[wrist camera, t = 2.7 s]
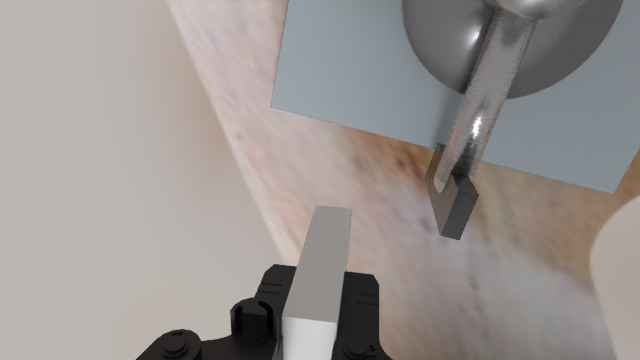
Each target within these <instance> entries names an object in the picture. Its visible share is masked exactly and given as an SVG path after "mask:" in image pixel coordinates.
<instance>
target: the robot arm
mask: <svg viewBox="0 0 640 360" xmlns="http://www.w3.org/2000/svg"><path fill="white" fill-rule="evenodd" d="M351 216H352V209H347V208H337V207H327V206H317V205H316V208H315V211H314V214H313V217H312V221H311V224H310V227H309V230H308V234H307V237H306V240H305V243H304V246H303V250H302V253H301V256H300V259H299V263H298V266H297V267H295V266H286V265H278V264H274V265H273V266H272V267H270V268H269V269H268V270H267V271H266V272H265V274H264V276H263V278H262V281H261V284H260V285H259V287H258V290H257V292H256V295H255V297H254V298H248V299H245V300H242V301H240V302H238V303H237V304H235V305H234V306H233V308H232V309H231V310H230V315H231V332H232V334H231V335H229V336H227V337H224V338H220V339H215V340H207V341H201V340H200V338H199V336H198V335H197V334H196V333H194V332H193V331H191V330H185V329H180V330H173V331H170V332H168V333H165V334H163V335H162V336H161V337H159V338H158V339H156V340H155V341H154V342H153V343H152V344H151V345H150V346H149V347H148V348H147V349H146V350H145V351H144V352H143V353H142V354H141V355H140V356H139V357H138V358H137V359H136V360H393V359H391V358H390V357H389V356H388V355H387V354H386V353H385V352H384V351H383V349H382V347H381V345H380V340H379V284H378V282H377V280H376V279H375V277H374V275H372V274H363V273H355V272H347V263H348V251H349V240H350V228H351Z"/></svg>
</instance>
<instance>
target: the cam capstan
mask: <svg viewBox="0 0 640 360" xmlns="http://www.w3.org/2000/svg"><path fill="white" fill-rule="evenodd" d="M623 1H624V0H401V15H402V21H403V27H404V30H405V34H406V37H407V40H408V42H409V44H410V47H411V49H412V50H413V52H414V54H415V55H416V57H417V58H418V60H419V61H420V62H421V63H422V65H423V66H424V67H425V68H426V69H427V71H428V72H429V73H430V74H431V75H432V76H434V77H435V78H436V79H437V80H438V81H439V82H441V83H442V84H444V85H445V86H447V87H448V88H450V89H452V90H454V91H456V92H458V93H461V94H464V97H463V100H462V103H461V105H460V108H459V111H458V113H457V116H456V119H455V122H454V124H453V127H452V130H451V132H450V135H449V138H448V140H447V143H446V145H445V144H441V143H437V146H436V149H435V151H434V154H433V157H432V160H431V163H430V165H429V168H428V171H427V174H426V176H425V181H426V185H427V188H428V192H429V196H430V199H431V203H432V207H433V210H434V214H435V218H436V221H437V225H438V228H439V232H440V235H441V236H445V237H449V238H452V239H456V240H460V238H461V235H462V233H463V231H464V228H465V226H466V224H467V221H468V219H469V217H470V214H471V212H472V210H473V207H474V205H475V203H476V200H477V198H478V196H479V195H478V193H477V191H476V189H475V187H474V185H473V184H472V179H473V177H474V174H475V172H476V170H477V167H478V165H479V162H480V160H481V157H482V155H483V153H484V150H485V148H486V145H487V143H488V141H489V138H490V136H491V133H492V131H493V128H494V126H495V124H496V121H497V119H498V116H499V114H500V112H501V109H502V107H503V104H504V102H505V99H514V98H519V97H524V96H527V95H530V94H533V93H537V92H539V91H541V90H544V89H546V88H548V87H550V86H552V85H554V84H556V83H557V82H559V81H561V80H563V79H564V78H566V77H567V76H568V75H570V74H571V73H572V72H574V71H575V70H576V69H578V68H579V67H580V66H581V65H582V64H583V63H584V62H585V61H586V60H587V59H588V58H589V57H590V56H591V55H592V54H593V53H594V52H595V50H596V49H597V48H598V47H599V46H600V44H601V43H602V42H603V40H604V39H605V37H606V36H607V35H608V33H609V31H610V29H611V28H612V26H613V24H614V22H615V20H616V18H617V16H618V14H619V11H620V9H621V6H622V4H623Z"/></svg>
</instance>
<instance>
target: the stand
mask: <svg viewBox="0 0 640 360" xmlns="http://www.w3.org/2000/svg"><path fill="white" fill-rule="evenodd" d="M463 97H464V94H461V93H458V92H456V91H454V90H452V89H450V88H448V87H447V86H445V85H444V84H442V83H441V82H439V81H438V80H437V79H436V78H435V77H434V76H432V75H431V74H430V73H429V72H428V71H427V69H426V68H425V67H424V66H423V65H422V63H421V62H420V61H419V60H418V58H417V57H416V55H415V54H414V52H413V50H412V49H411V47H410V44H409V42H408V40H407V37H406V34H405V30H404V27H403V21H402V15H401V0H289V3H288V9H287V14H286V20H285V26H284V32H283V37H282V43H281V49H280V55H279V61H278V66H277V72H276V78H275V84H274V89H273V95H272V101H271V107H272V108H276V109H279V110H283V111H287V112H291V113H295V114H299V115H303V116H307V117H311V118H315V119H319V120H323V121H327V122H331V123H334V124H338V125H342V126H346V127H350V128H354V129H358V130H362V131H366V132H370V133H374V134H378V135H382V136H385V137H389V138H393V139H397V140H401V141H405V142H409V143H413V144H417V145H421V146H425V147H429V148H433V149H436V146H437V143H441V144H445V145H446V143H447V140H448V138H449V135H450V132H451V130H452V127H453V124H454V122H455V119H456V116H457V113H458V111H459V108H460V105H461V103H462V100H463ZM639 148H640V0H624V1H623V4H622V6H621V9H620V11H619V14H618V16H617V18H616V20H615V22H614V24H613V26H612V28H611V29H610V31H609V33H608V35H607V36H606V37H605V39H604V40H603V42H602V43H601V44H600V46H599V47H598V48H597V49H596V50H595V52H594V53H593V54H592V55H591V56H590V57H589V58H588V59H587V60H586V61H585V62H584V63H583V64H582V65H581V66H580V67H579V68H578V69H576V70H575V71H574V72H572V73H571V74H570V75H568V76H567V77H566V78H564V79H563V80H561V81H559V82H557V83H556V84H554V85H552V86H550V87H548V88H546V89H544V90H541V91H539V92H537V93H533V94H530V95H527V96H524V97H519V98H514V99H505V102H504V104H503V107H502V109H501V112H500V114H499V116H498V119H497V121H496V124H495V126H494V128H493V131H492V133H491V136H490V138H489V141H488V143H487V145H486V148H485V150H484V153H483V155H482V157H481V160H480V161H484V162H488V163H491V164H495V165H499V166H503V167H507V168H511V169H515V170H519V171H523V172H527V173H531V174H535V175H539V176H543V177H546V178H550V179H554V180H558V181H562V182H566V183H570V184H574V185H578V186H582V187H586V188H590V189H594V190H597V191H601V192H605V193H609V194H613V193H614V191H615V190H616V188H617V186H618V185H619V183H620V181H621V179H622V178H623V176H624V174H625V173H626V171H627V169H628V167H629V166H630V164H631V162H632V161H633V159H634V157H635V155H636V154H637V152H638V150H639Z"/></svg>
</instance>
